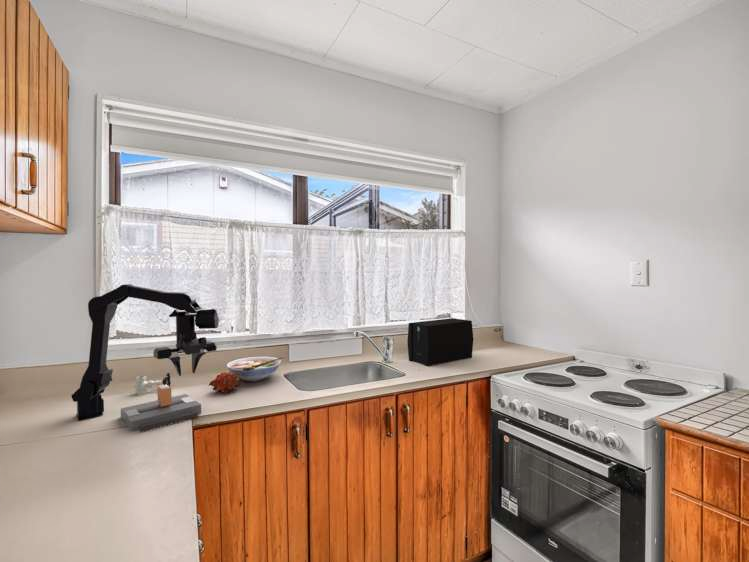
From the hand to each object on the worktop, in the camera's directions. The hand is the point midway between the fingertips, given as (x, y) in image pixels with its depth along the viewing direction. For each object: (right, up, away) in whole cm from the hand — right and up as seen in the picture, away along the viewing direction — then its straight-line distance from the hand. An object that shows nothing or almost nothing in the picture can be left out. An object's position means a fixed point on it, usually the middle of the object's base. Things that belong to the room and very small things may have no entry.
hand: (186, 374), depth 128 cm
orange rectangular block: (-5, -9, -5) cm, 11 cm away
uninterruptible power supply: (+101, -10, +70) cm, 123 cm away
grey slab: (-6, -12, -5) cm, 14 cm away
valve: (-23, -12, +20) cm, 33 cm away
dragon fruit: (+6, -12, +19) cm, 23 cm away
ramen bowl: (+12, -11, +35) cm, 39 cm away
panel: (-6, -12, -5) cm, 14 cm away
